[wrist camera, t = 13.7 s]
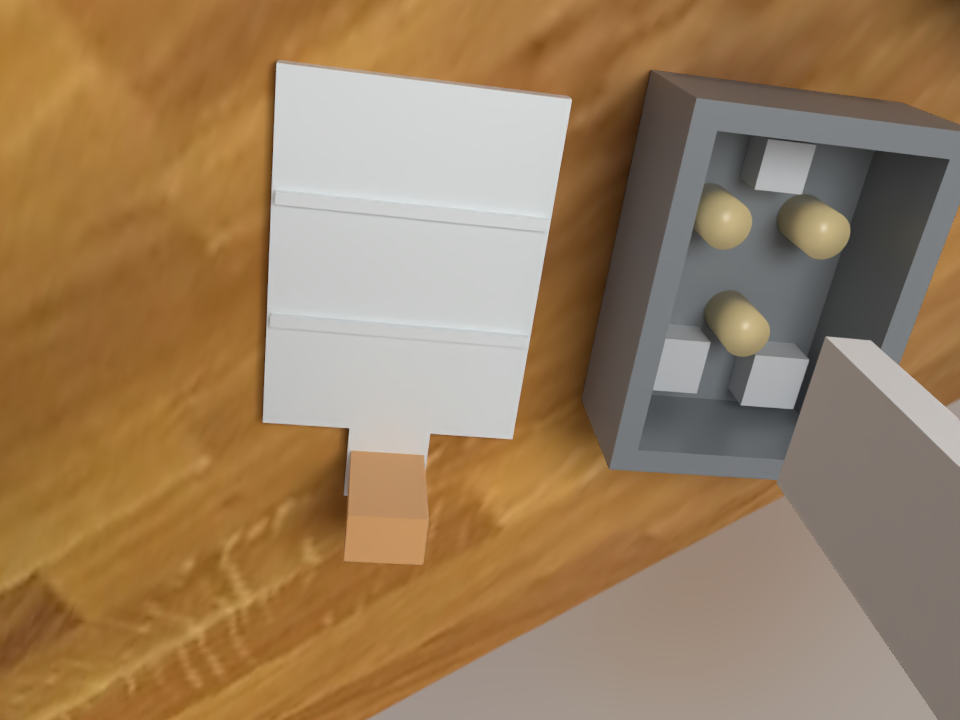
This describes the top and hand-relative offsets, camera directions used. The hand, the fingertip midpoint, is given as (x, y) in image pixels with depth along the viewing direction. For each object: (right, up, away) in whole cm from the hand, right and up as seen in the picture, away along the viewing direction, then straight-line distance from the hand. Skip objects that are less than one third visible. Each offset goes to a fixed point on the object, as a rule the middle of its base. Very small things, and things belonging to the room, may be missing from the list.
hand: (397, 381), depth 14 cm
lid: (-3, +3, +34) cm, 34 cm away
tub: (+15, +6, +34) cm, 38 cm away
